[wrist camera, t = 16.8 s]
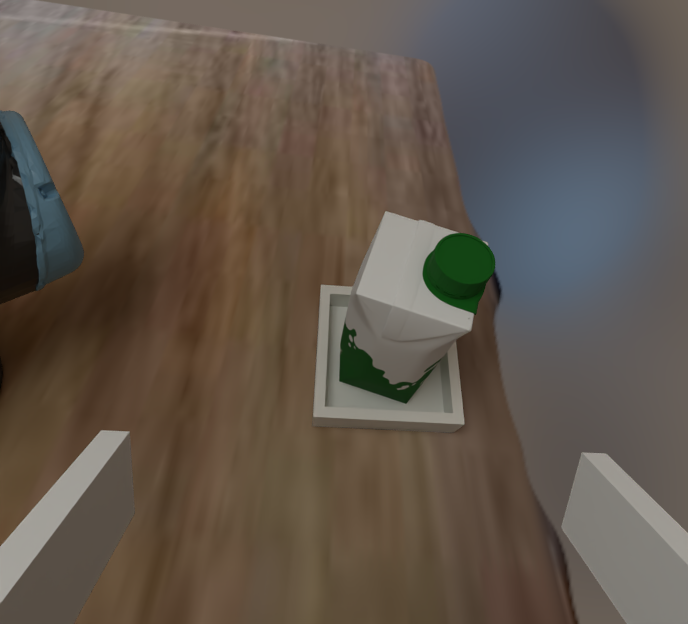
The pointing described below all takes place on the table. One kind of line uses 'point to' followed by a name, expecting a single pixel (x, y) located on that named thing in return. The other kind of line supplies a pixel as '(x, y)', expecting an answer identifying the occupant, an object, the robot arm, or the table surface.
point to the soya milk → (410, 304)
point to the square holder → (369, 408)
